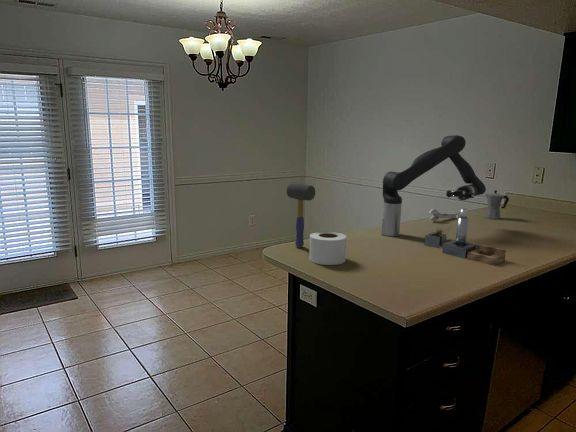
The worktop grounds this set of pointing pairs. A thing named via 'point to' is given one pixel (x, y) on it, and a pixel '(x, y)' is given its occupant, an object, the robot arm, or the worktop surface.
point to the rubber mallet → (300, 206)
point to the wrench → (441, 215)
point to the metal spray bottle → (462, 228)
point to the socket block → (458, 249)
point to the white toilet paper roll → (327, 248)
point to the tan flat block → (444, 231)
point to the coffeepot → (495, 205)
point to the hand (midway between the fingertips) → (454, 195)
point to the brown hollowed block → (487, 255)
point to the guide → (435, 240)
